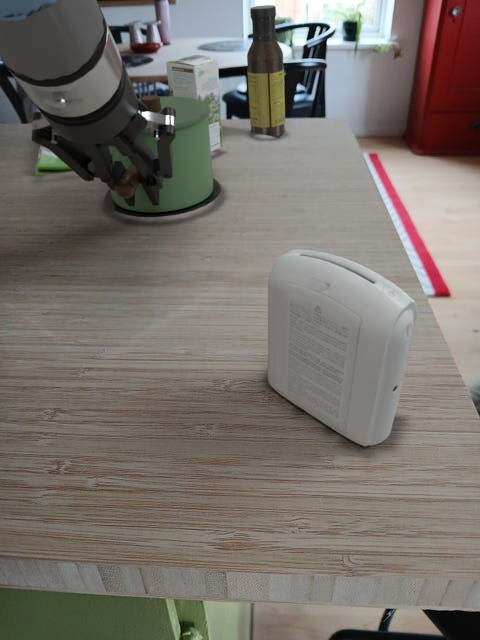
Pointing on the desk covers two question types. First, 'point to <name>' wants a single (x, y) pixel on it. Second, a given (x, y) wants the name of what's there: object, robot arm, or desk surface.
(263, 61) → the sauce bottle
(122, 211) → the trivet
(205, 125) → the pot
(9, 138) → the desk surface
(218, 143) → the syrup box
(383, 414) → the photo printer
